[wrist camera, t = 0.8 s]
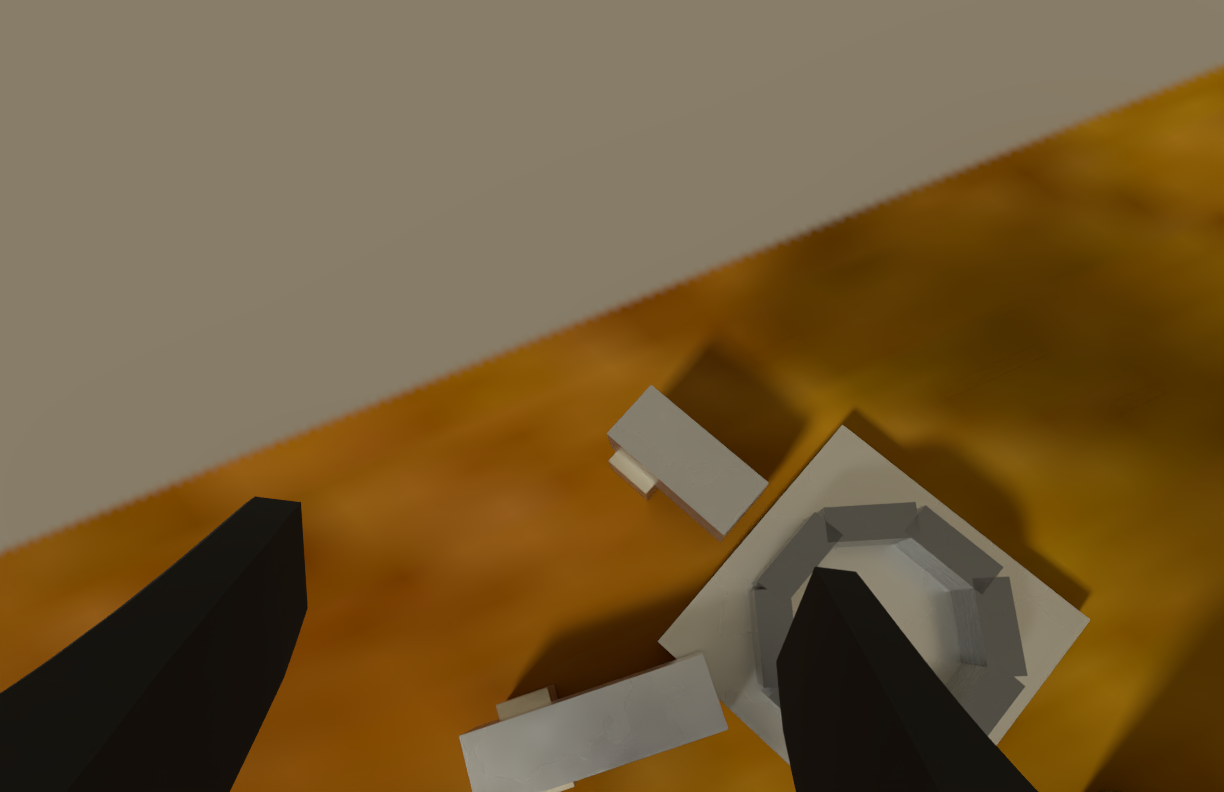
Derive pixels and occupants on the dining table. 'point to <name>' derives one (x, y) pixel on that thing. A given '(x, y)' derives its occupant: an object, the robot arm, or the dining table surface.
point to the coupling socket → (784, 607)
